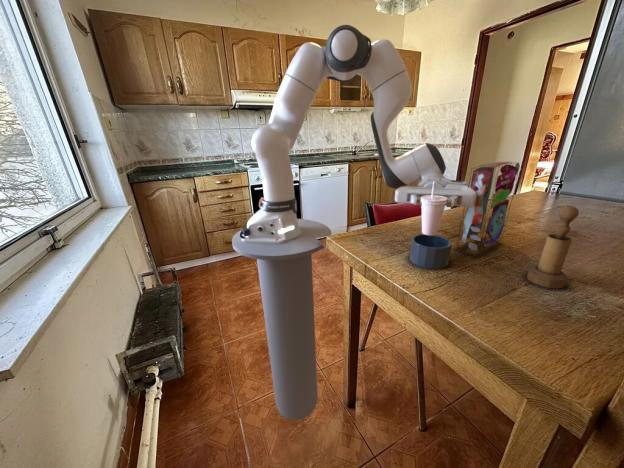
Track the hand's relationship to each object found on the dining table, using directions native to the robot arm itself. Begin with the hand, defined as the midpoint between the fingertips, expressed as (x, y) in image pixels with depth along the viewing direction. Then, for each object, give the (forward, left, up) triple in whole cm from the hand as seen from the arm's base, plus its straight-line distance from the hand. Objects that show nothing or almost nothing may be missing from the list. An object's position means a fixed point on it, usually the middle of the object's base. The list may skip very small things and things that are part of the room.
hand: (433, 203), depth 65 cm
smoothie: (0, +1, -9) cm, 9 cm away
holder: (+1, 0, -16) cm, 16 cm away
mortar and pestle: (+23, -12, -17) cm, 31 cm away
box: (+23, +10, -17) cm, 30 cm away
